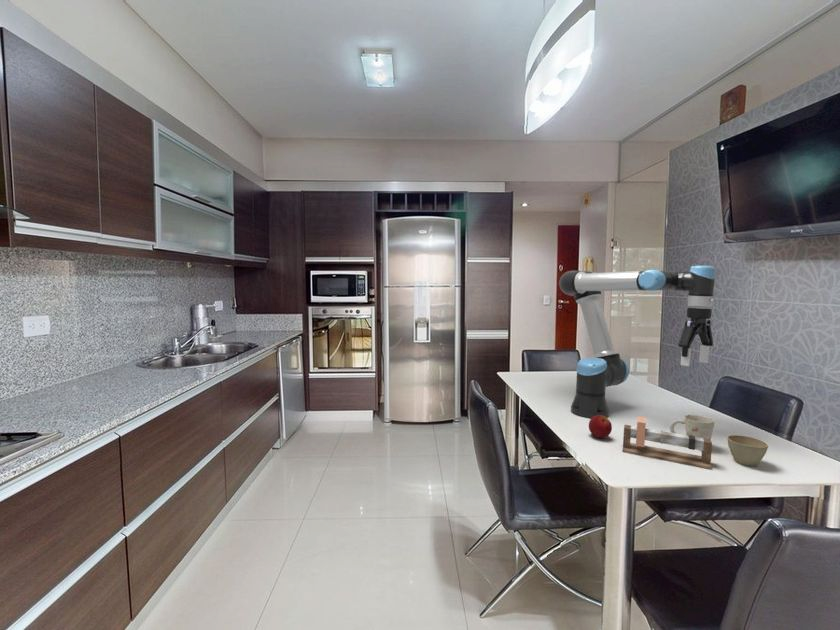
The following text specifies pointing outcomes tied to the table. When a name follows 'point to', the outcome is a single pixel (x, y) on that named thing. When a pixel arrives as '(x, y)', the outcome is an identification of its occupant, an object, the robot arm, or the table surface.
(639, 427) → the salmon pink flat block
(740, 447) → the beige bowl
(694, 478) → the table surface
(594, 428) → the apple
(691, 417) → the mug
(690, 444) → the pipe stand
